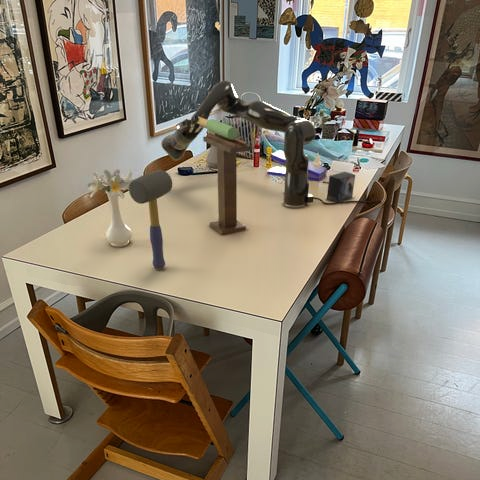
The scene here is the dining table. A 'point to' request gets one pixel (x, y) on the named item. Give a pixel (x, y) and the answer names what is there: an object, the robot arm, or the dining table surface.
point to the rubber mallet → (152, 207)
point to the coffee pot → (213, 156)
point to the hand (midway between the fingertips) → (201, 116)
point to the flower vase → (114, 204)
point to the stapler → (280, 158)
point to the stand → (227, 182)
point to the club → (219, 128)
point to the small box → (340, 186)
